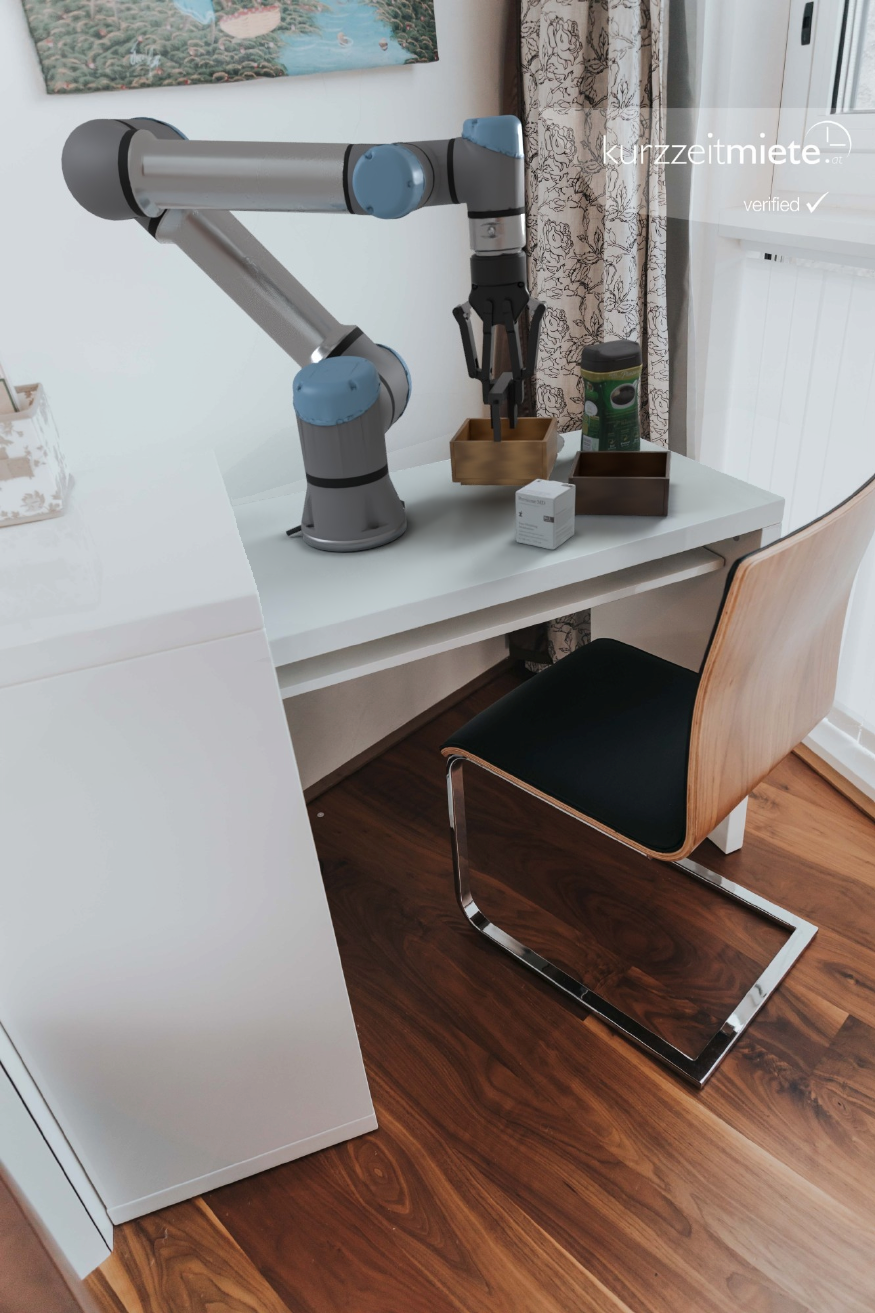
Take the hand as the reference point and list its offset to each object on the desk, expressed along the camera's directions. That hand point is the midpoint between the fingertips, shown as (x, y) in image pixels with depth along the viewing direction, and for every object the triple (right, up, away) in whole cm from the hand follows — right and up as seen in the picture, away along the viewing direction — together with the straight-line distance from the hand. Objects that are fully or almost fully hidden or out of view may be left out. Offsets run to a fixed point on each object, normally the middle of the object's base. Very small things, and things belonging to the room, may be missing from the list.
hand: (504, 425), depth 129 cm
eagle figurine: (+6, -2, +18) cm, 19 cm away
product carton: (+5, -18, -9) cm, 20 cm away
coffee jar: (+19, 0, +19) cm, 27 cm away
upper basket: (+1, -6, +4) cm, 7 cm away
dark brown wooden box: (+17, -11, +2) cm, 20 cm away
